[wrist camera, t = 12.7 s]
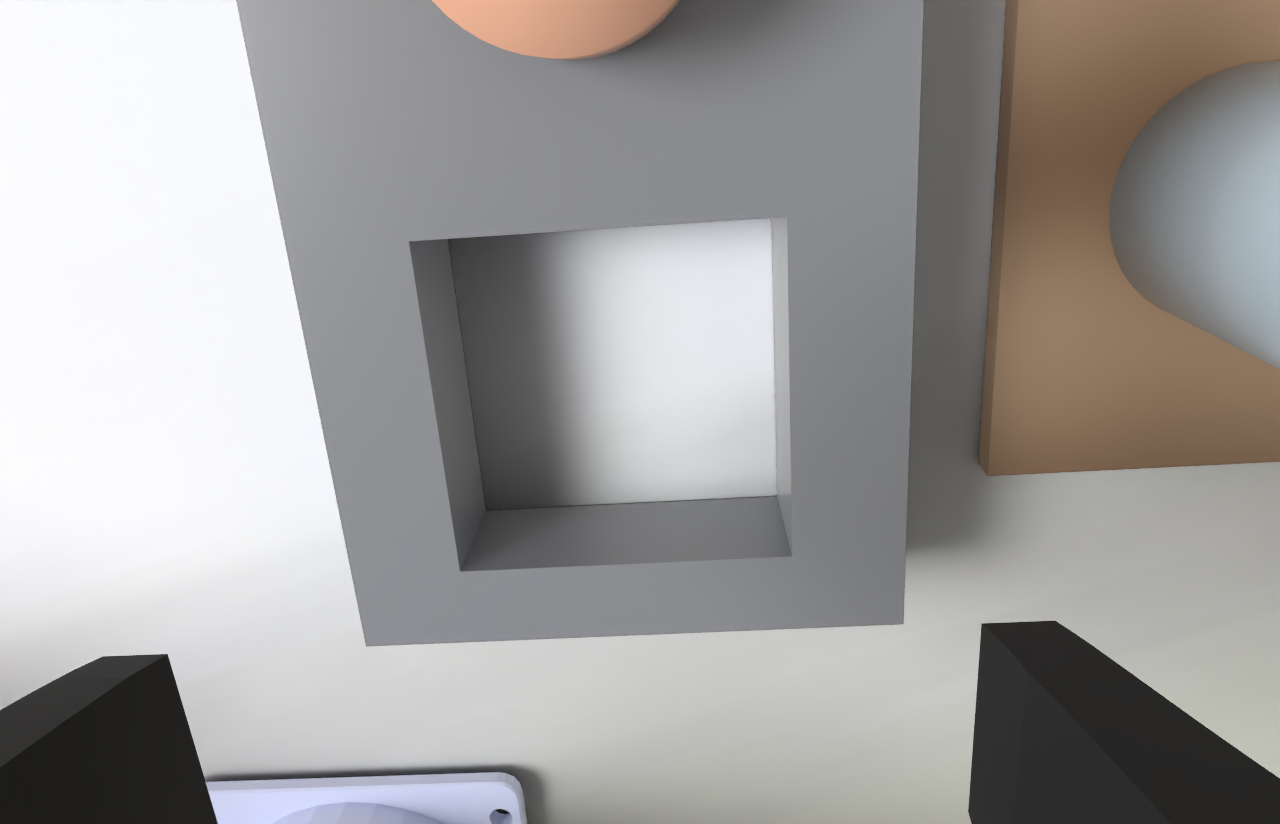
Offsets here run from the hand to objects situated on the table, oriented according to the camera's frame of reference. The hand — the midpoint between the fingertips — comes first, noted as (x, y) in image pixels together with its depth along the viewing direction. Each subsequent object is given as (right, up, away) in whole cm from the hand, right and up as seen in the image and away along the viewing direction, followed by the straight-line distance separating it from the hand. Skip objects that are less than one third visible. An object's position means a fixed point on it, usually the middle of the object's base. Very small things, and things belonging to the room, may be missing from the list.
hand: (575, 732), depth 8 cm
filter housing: (0, +7, +9) cm, 11 cm away
